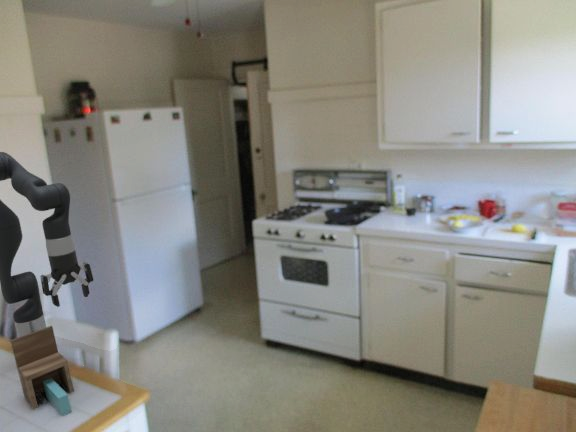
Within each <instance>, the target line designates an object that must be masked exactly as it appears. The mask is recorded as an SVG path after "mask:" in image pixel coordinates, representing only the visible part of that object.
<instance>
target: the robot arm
mask: <svg viewBox="0 0 576 432" xmlns="http://www.w3.org/2000/svg"><path fill="white" fill-rule="evenodd" d="M9 179H10V184H11V186H12V188H13V190H14V191H15V192H16V193H18V194H19V195H20V196H22V197H24V198H26V199H27V201H28V202H29V203H30V205H31V207H32V208H33V209H34V210H36V211H39V212H46V211H49V210H53V209H54V211H53V213H52V214H51V215H50V216H48V217H46V218H44V219H43V220H42V229H43V234H44V240H45V245H46V246H45V247H46V253H47V257H48V260H49V261H48V262H49V265H50V270H51V271H50V273H48V274H41V275H40V283H41V290H42V295H45V296H47V297H49V296H50V297H51V298H50V299H51V302H52V304H53V305H54V306H55V307H57V308H58V307H60V306H61V303H60V300H59V299H60V298H59V295H58V292H59V290H60V289H61V287H62V286H63V285H64V286H65V285H68V284H69V283H74V282H75V281H78V282H79V283H80V284H81V290H82V295H83V297H85V298H87V297H89V295H90V287H89V284H90V283H91V282H94V276H93V273H92V269H91V268H92V267H91V265H90V264H89V263H88V262H83V263H82V264H80V265H79V262H78V256H77V252H76V244H75V242H74V239H73V236H72V231H71V227H70V222H69V217H70V207H71V206H70V205H71V193H70V191H69V188H68V187H67V185H65V184H63V183H62V182H55V183H51V184H47V182H46V181H45V180H44V179H43V178H41V177H39V176H37V175H35V174H34V173H31V172H30V171H28V169H26V168H25V167H24V166H22V165H21V163H19V162H18V161H17V160H16V159H15V158H14V157H13V156H12V155H11V154H9V153H6V152H4V151H0V182H1V181H6V180H9ZM22 241H23V231H22V227H21V222H20V219H19V217H18V215H17V214H16V213H15V212H14V211H13V210H12V209H11V208H10V207H9V206H8V205H7V204H6V203H4V202H3V201H2V199H0V289H1V293H2V296H3V297H2V298H3V299H4V301H5V303H6V304H9V305H11V304H16V303H20V302H23V301H26V302H25V303H23V304H22V305H21V306H20V307H18V309H16V310H15V311H14V312H13V314H12V316H13V321H14V325H15V326H14V327H15V329H16V334H17V338H19V337H21V336H24V335H27V334H30V333H32V332H35V331H38V330H41V329H43V328H46V327H47V324H46V319H45V314H44V311H43V305H42V301H41V296H40V288H39V282H38V279H37V276H36V275H35V273H33V271H30V270H29V271H24V272H22V273H18V274H13V275H12V266H13V263H14V259H15V258H16V254H17V253H18V250H19V248H20V246H21V244H22ZM81 270H82V271H83V272H84V274H85V277H86V278H83V277H82V276H80V275H79V274H80V272H81ZM51 279H53V280H54V281H53V282H52V285H51V287H50V286H49V283H50V281H51Z"/></svg>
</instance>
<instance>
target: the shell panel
mask: <svg viewBox="0 0 576 432" xmlns="http://www.w3.org/2000/svg"><path fill="white" fill-rule="evenodd" d="M43 385H44V389H45V391H44V392H45V399H47V401H49V402H50V404H51V405H52V406H53V407H54V408H55V409H56V410H57V411H58V413H60V415H61V416H63V417H64V416H65V415H67V414H69V413H72V407H71V404H70V400H69V399H70V398H69V396H68V393H67V392H66V391H65V390H64V389H63V388H62V387H61V386H60V385H58V384H57V383H56V382H55V381H54V380H53V379H52V378H49V379H47V380H44V381H43Z"/></svg>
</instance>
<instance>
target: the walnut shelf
mask: <svg viewBox="0 0 576 432" xmlns="http://www.w3.org/2000/svg"><path fill="white" fill-rule="evenodd" d="M56 341H57V340H56V336H55V332H54V328H53V325H50V326H46V328H43V329H41V330H38V331H35V332H32V333H30V334H27V335H24V336H21V337H19V338H18V337H17V338H16V337H15V338H13V339H11V340H10V345H11V349H12V353H13V357H14V360H15V364H16V368H17V373H18V377H19V382H20V384H21V387H22V392H23V396H24V399H25V400H26V402H27V403H28V405H30V407H31V408H32V409H33V410H36V409H38V408H39V406H38V401H37V398H38V399H39V400H40V402H41V403H42V404H43V405H45V404H47V403H48V400H46V399H47V398H46V397H44V395H42V394H41V393H43V392H45V389H44V385H43V381H44V380H47V379H49V378H52V379H53V380H54V381H55V382H56V383H57V384H58V385H59V386H60V385H62V386H63V387H64V388H65V389H66V390H67V392H69V393H70V394H71V393H73V392H74V391H75V389H74V385H73V379H72V376H71V372H70V371H71V370H70V366H69V362H68V359H67V358H66V357H64V355H62V354H61V353H60V352H59V350H58V349H59V348H58V346H57V342H56ZM36 397H37V398H36Z"/></svg>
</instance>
